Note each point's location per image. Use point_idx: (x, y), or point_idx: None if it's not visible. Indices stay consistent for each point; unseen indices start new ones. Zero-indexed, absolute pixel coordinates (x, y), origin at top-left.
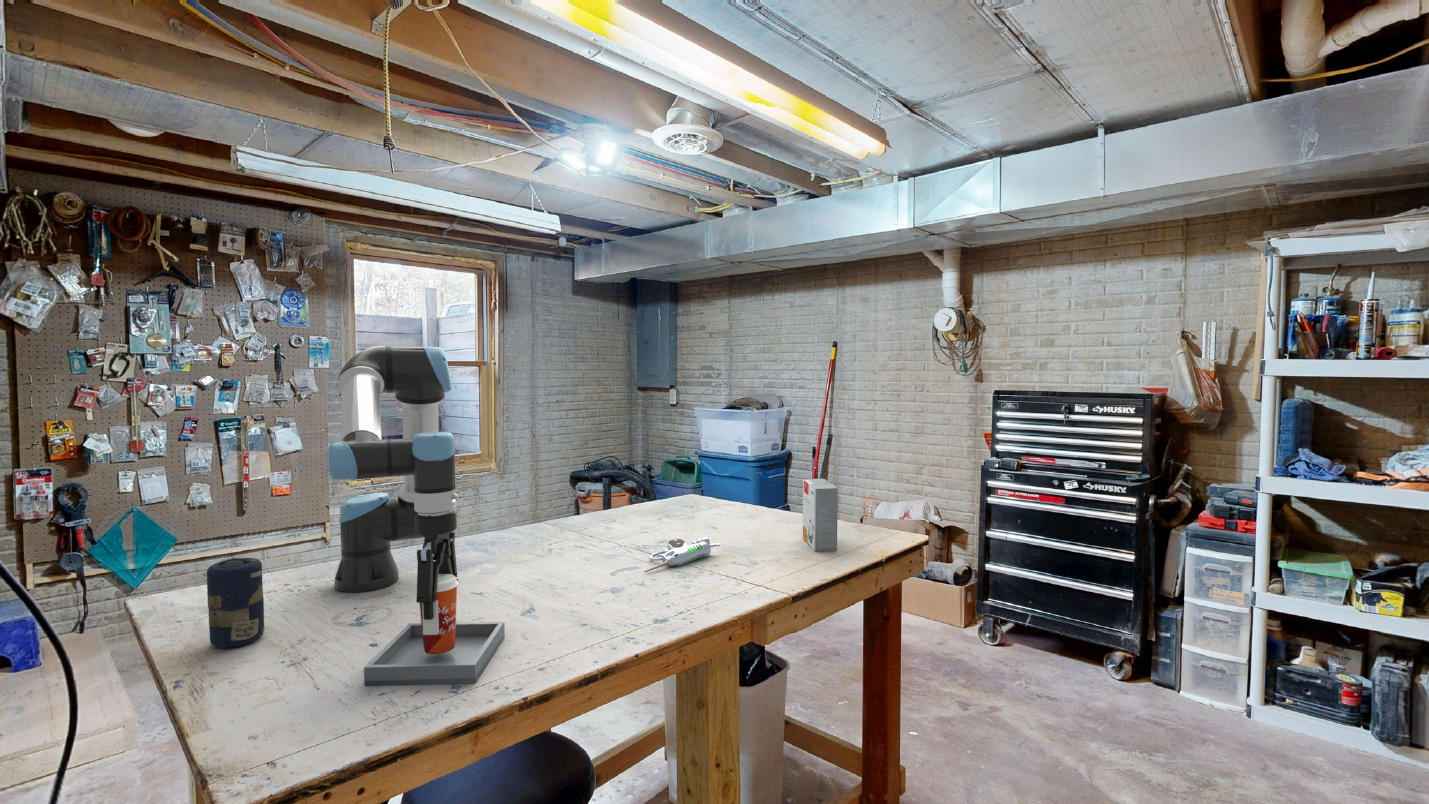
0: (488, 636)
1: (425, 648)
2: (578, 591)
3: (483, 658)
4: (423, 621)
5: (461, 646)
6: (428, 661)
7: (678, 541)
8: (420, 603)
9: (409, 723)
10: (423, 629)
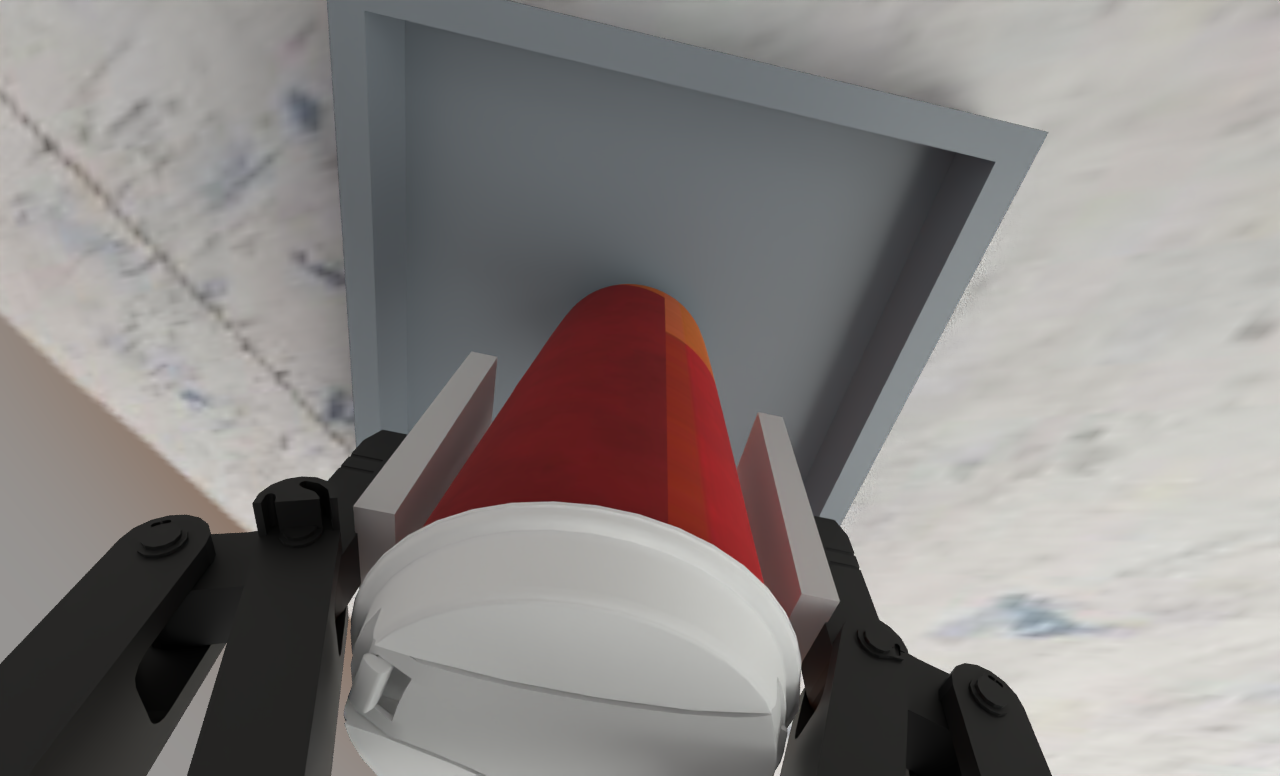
0: None
1: (579, 303)
2: (1140, 752)
3: None
4: (437, 402)
5: None
6: (568, 297)
7: None
8: (502, 439)
9: (88, 285)
10: (459, 371)
